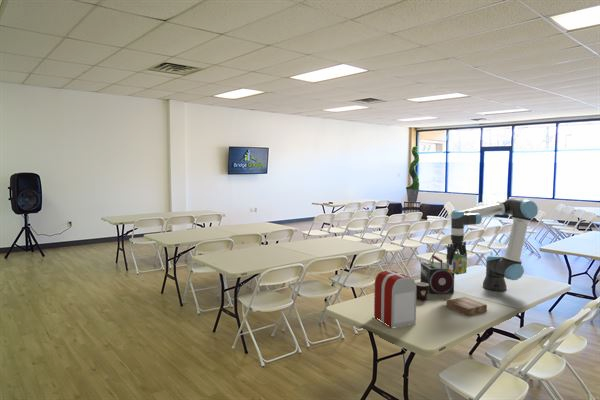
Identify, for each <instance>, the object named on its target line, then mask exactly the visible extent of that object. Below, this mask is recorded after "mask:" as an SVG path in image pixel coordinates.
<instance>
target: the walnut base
mask: <svg viewBox="0 0 600 400" xmlns="http://www.w3.org/2000/svg"><path fill="white" fill-rule="evenodd" d="M445 302H446V305H445V307H446V308H448V309H450V310H453V311H455V312H457V313H459V314H463V315H465V316H468V317H470V316H473V315H476V314H481V313H485V312H487V311H488V310H487V309H488V305H487V304H486V303H483V302H480V301H477V300H475V299H473V298H469V297H467V296H462V297H461V296H460V297H457V298H453V299H449V300H448V299H447V300H446V301H445Z"/></svg>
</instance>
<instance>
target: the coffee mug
mask: <svg viewBox="0 0 600 400" xmlns="http://www.w3.org/2000/svg"><path fill="white" fill-rule="evenodd" d="M415 283H416V301H420V300H421V301H420V302H423V301H424V300H425V301H427V298H428V294H429V293H428V286H429V284H427V283H424V282H420V281H415ZM425 301H424V302H425Z"/></svg>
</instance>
